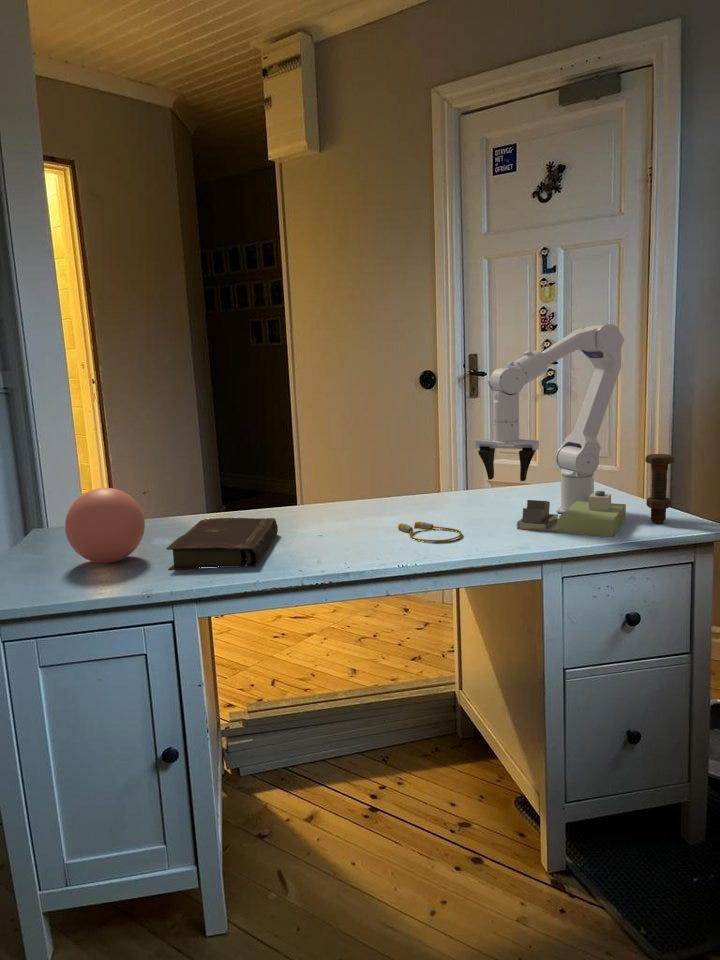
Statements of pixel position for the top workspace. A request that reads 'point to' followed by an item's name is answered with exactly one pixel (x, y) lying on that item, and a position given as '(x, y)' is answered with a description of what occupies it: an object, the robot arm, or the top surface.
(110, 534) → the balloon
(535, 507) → the stepped block
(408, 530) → the extension cord
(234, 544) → the diary
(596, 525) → the deck
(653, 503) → the bolt
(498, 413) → the robot arm
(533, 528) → the grey rectangular frame
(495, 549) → the top surface
